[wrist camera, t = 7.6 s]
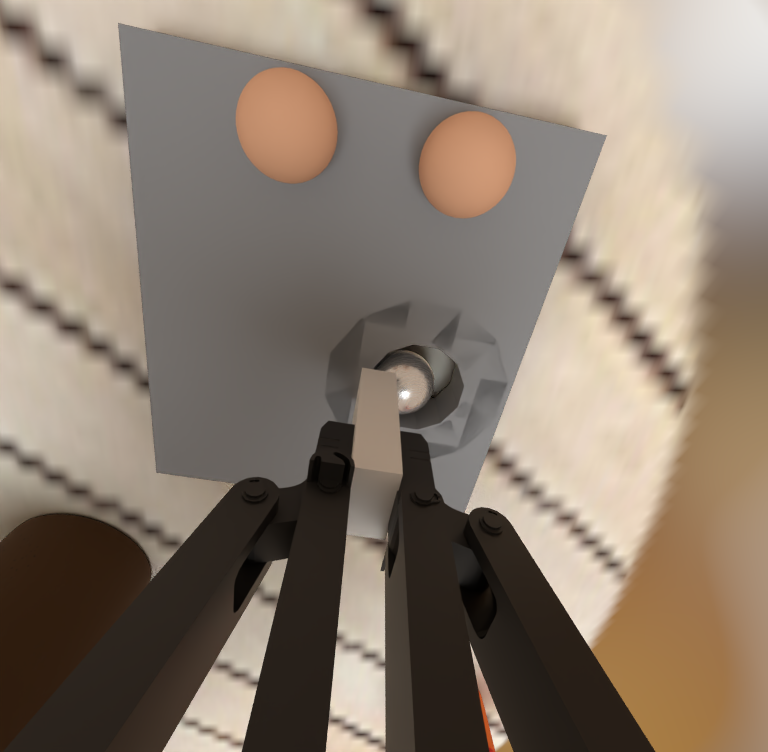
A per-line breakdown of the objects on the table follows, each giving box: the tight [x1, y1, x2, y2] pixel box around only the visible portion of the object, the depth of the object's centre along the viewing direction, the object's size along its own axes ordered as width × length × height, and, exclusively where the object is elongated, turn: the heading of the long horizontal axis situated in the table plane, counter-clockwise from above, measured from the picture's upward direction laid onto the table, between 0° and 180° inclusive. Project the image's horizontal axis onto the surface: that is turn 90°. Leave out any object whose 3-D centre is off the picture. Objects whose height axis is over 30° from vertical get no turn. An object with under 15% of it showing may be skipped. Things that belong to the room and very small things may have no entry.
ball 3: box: [419, 111, 516, 218], centre depth 14 cm, size 3×3×3 cm
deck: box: [118, 23, 606, 513], centre depth 19 cm, size 17×19×2 cm
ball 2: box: [373, 350, 434, 414], centre depth 20 cm, size 3×3×3 cm
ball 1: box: [236, 67, 338, 184], centre depth 13 cm, size 3×3×3 cm
